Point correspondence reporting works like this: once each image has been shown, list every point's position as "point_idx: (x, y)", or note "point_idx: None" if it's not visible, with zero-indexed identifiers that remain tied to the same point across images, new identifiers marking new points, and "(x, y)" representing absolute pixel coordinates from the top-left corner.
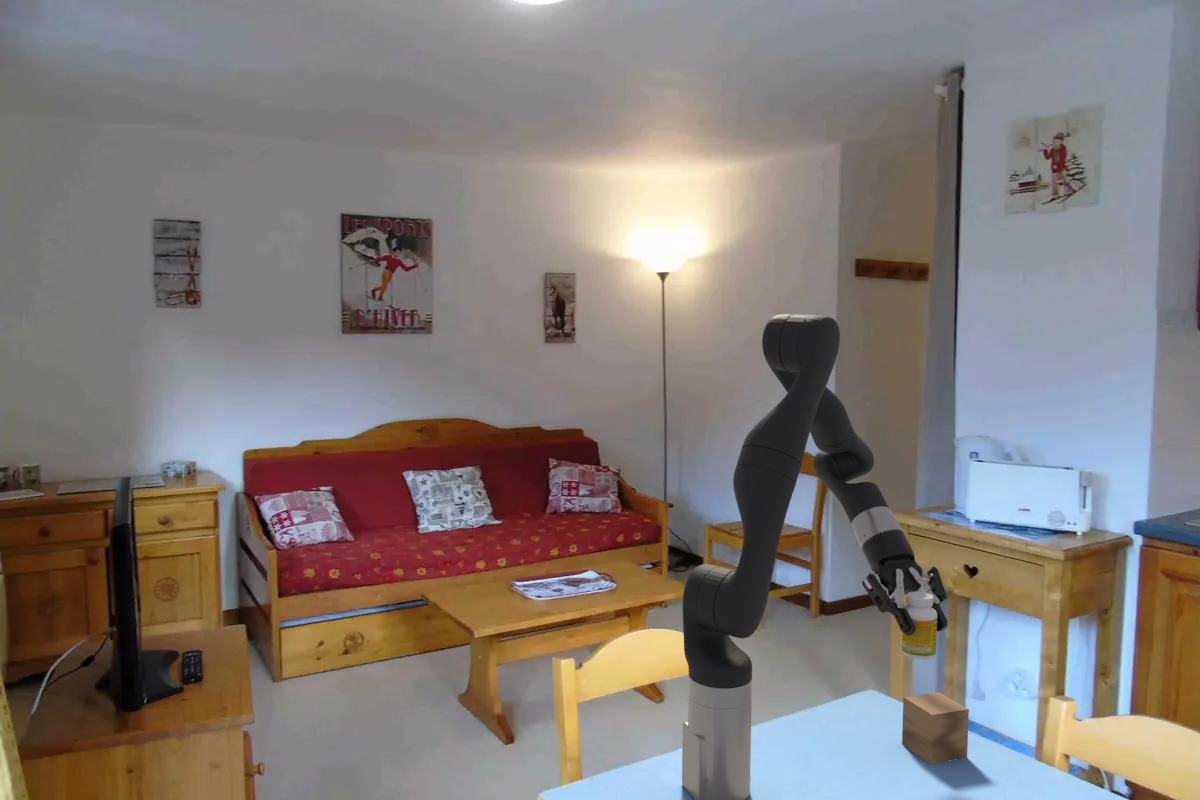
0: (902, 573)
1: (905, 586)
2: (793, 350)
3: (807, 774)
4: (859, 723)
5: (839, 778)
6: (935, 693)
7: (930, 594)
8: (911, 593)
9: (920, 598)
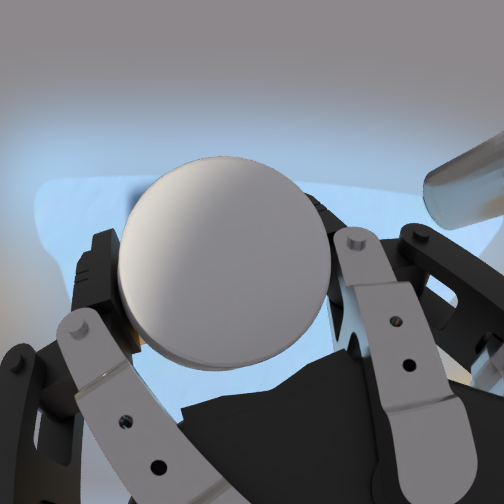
0: (404, 469)
1: (327, 385)
2: None
3: (368, 224)
4: (259, 384)
5: (334, 212)
6: (141, 340)
7: (121, 279)
8: (286, 304)
9: (257, 170)
